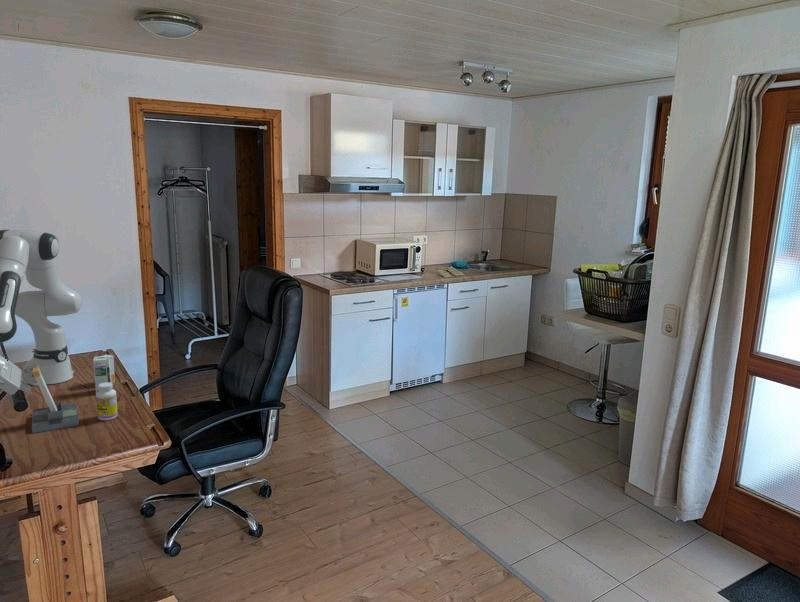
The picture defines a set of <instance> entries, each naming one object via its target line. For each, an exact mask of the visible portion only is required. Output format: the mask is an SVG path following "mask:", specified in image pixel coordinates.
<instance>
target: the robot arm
mask: <svg viewBox="0 0 800 602" xmlns="http://www.w3.org/2000/svg"><path fill="white" fill-rule="evenodd" d="M59 251H60V243H59V238H58V237H56V236H55V235H54V234H51V233H49V232H40V231H35V230H20V229H19V230H18V229H17V230H16V229H15V230H14V229H13V230H11V229H0V336H1V337H0V344H1V343H4V342H8V341H10V340H11V339H12V338H13V337H15V335H16V332H17V329H18V324H17V320H16V317H18V318H20V319H22V320H23V321H24V322H26V323H27V325H28V326H29V327H30V329H31V331H32V333H33V334H32V335H33V337H34V344H35V345H34V346H35V348H33V349H32V350H31V353H33V356H32V358H30V359H29V360H28V361H27V362H25V363H24V364H23V365H22V369H21V368H20V367H19V366H17V365H16V364H14V363H13V362H12V361H11V360H9V359H7V358H6V359H5V357H6V356H5V355H4V354H3V353H0V389H1V390H2V391H4V392H5V393H7V394H8V395H11V396H14V395H15V394H16V393H17V392H18V391H21V392H25V393H26V394H29V393H31V391H32V386H36V387H37V386H39V385H38V383H37V381H36V379H35V377H34V375H33V373H32V372H33V368H36V367H39V369H40V371H41V374H42V377H43V379H44V381H45V383H46V385H54V384H60V383H65V382H67V381H70V380H71V379H73V378H74V375H73V374H75V372H74V370H73V369H72V364H71V360H70V356H69V355H68V354H69V352H68V351H69V350H68V346H67V342H66V332H65V328H64V327H63V326H61V325H59V324H57V323H54V322H52V321H51V320H49V318H48V317H57V316H58V317H59V316H60V317H62V316H68V315H72V314H77V313H78V312H79V311H80V310H81V308H82V305H83V304H82V303H83V300H82V296H81V295H80V293H78V292H77V291H76V290H74V289H71V288H70V287H68V286H67V285H66V284H65V283H64V282H62V279H61V278H60V276H59V271H58V268H57V263H56V257H57V256H58V254H59ZM24 277H25V279H26V281H27V283H29V285H31V287H33V288H36V289H39V290H27V291H21V292H20V288H21V285H22V282H23V280H24ZM7 360H8V361H7Z"/></svg>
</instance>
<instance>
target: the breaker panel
mask: <svg viewBox="0 0 800 602" xmlns="http://www.w3.org/2000/svg"><path fill="white" fill-rule="evenodd" d="M54 403H55V405H56V407H57V411H53V412H51V411H50V409H49V407H48V406H47V407H48V409H45V410H38V411H33V410H32V415H31V417H32V418H31V432H32V434H36V433H41V432H48V431H54V430H60V429H66V428H72V427H77V426H80V421H79V414H78V406H77V404H76V405H71V406H64V407H61V405H62V404H61V403H62V401H56V402H55V401H54Z"/></svg>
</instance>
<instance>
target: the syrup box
mask: <svg viewBox="0 0 800 602" xmlns="http://www.w3.org/2000/svg"><path fill="white" fill-rule="evenodd" d="M92 363H93V364H92V365H93V373H94V383H95V385H94V386H95V394H96V393H97V392H98V391H99V389H98V385H99V384H101V383H106V382H110V383H111V369H110V356H103V355H101V356H94V357H93V361H92Z"/></svg>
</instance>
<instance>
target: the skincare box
mask: <svg viewBox="0 0 800 602" xmlns="http://www.w3.org/2000/svg"><path fill="white" fill-rule="evenodd" d="M102 356H110V369H111V383H112V384H114V383H115V382H116V378H115V377H116V376H115V375H116V374H115V360H114V359H115V358H114V355H112V354H104V355H102Z"/></svg>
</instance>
